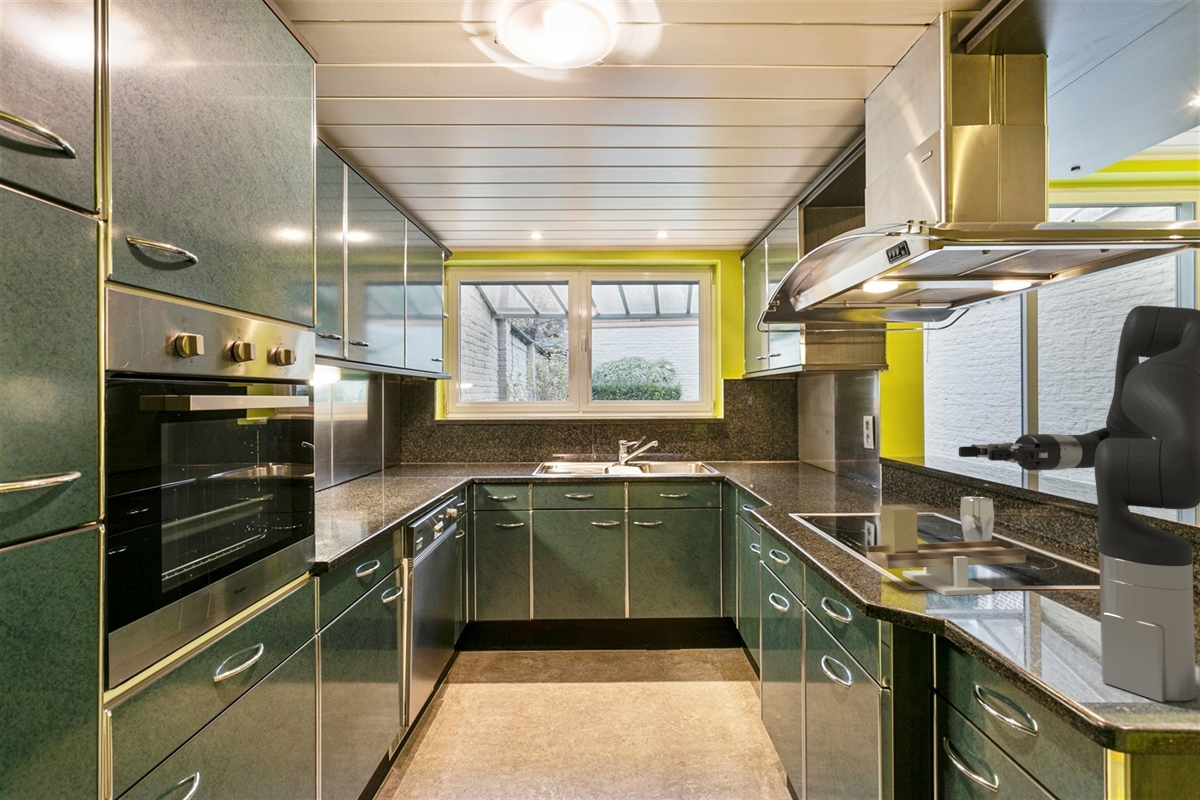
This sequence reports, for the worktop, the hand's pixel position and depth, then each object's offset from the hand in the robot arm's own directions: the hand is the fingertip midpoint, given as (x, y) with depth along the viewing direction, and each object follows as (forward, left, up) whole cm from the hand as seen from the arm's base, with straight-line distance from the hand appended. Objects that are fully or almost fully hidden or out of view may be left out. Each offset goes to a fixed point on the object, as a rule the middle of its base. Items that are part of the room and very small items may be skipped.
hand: (974, 453), depth 120 cm
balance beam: (-2, +5, -23) cm, 24 cm away
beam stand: (-2, +5, -28) cm, 29 cm away
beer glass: (+24, +13, -28) cm, 39 cm away
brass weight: (-12, +9, -22) cm, 26 cm away
